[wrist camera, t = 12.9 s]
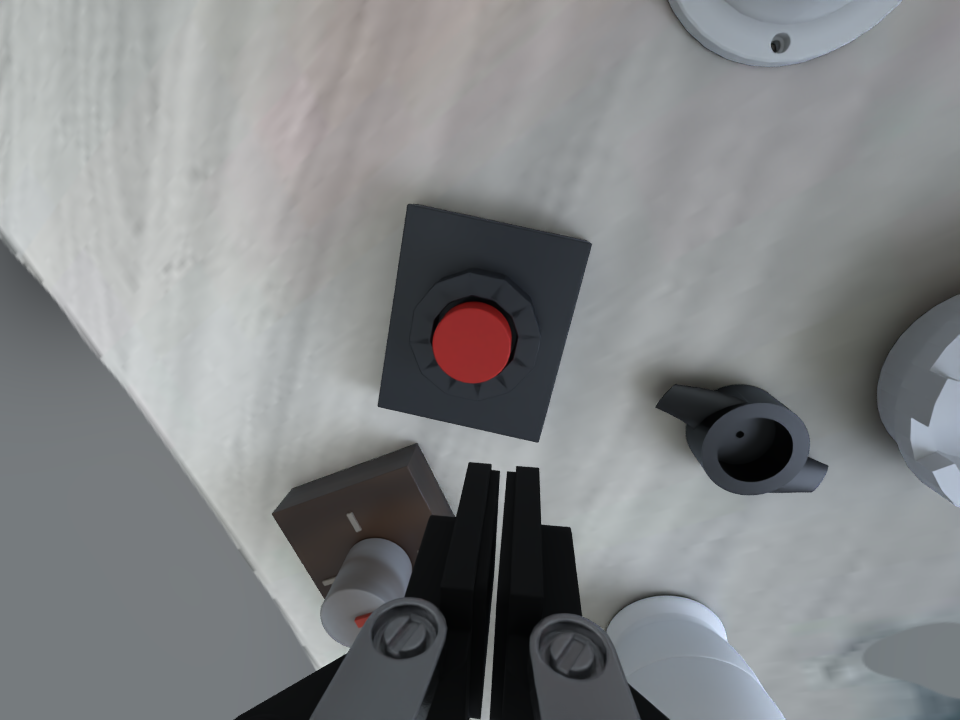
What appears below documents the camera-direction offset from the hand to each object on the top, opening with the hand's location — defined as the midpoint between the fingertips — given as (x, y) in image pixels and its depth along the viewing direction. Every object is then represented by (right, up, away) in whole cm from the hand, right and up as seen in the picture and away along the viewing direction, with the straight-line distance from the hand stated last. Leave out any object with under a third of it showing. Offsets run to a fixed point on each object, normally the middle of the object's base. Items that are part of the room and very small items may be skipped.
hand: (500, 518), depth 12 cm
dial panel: (-7, -9, +24) cm, 26 cm away
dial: (-7, -10, +21) cm, 24 cm away
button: (-1, +5, +15) cm, 16 cm away
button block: (0, +6, +18) cm, 19 cm away
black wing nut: (+15, 0, +19) cm, 24 cm away
